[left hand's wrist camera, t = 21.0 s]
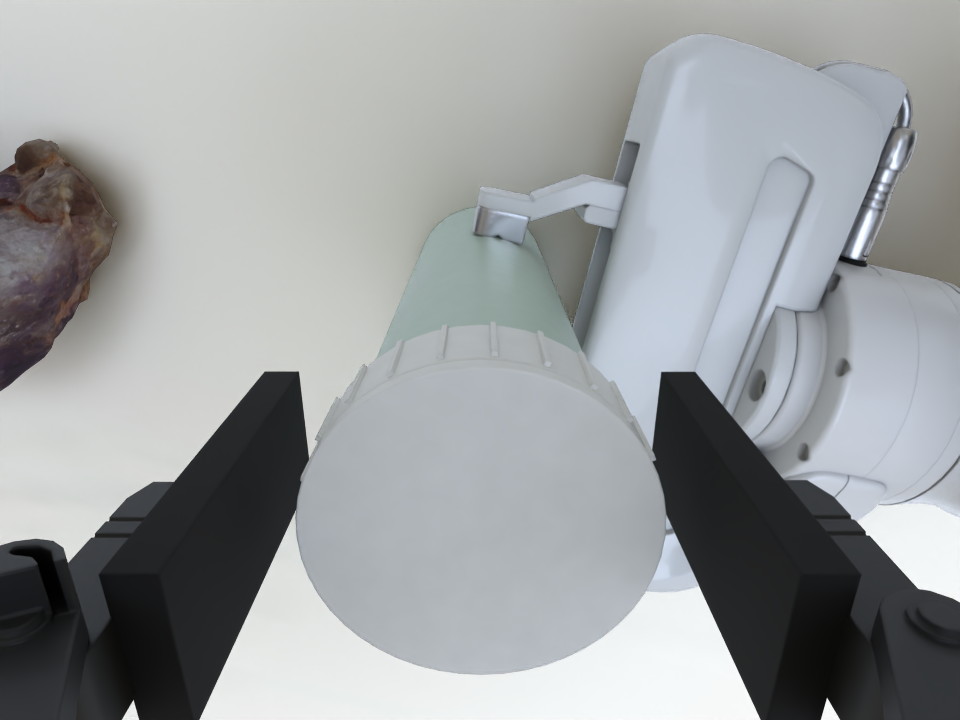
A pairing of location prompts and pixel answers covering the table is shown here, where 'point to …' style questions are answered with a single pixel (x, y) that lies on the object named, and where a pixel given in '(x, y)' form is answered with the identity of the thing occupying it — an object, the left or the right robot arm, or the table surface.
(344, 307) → the table surface
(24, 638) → the left robot arm
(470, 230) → the jar
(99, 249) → the rock
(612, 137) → the table surface
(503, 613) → the lid
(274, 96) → the table surface
